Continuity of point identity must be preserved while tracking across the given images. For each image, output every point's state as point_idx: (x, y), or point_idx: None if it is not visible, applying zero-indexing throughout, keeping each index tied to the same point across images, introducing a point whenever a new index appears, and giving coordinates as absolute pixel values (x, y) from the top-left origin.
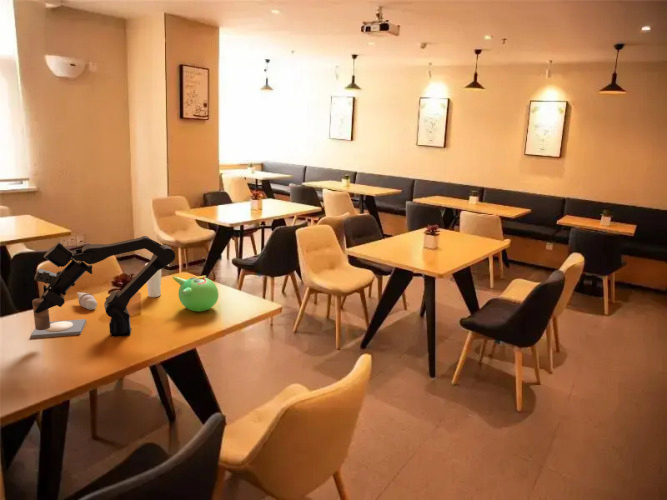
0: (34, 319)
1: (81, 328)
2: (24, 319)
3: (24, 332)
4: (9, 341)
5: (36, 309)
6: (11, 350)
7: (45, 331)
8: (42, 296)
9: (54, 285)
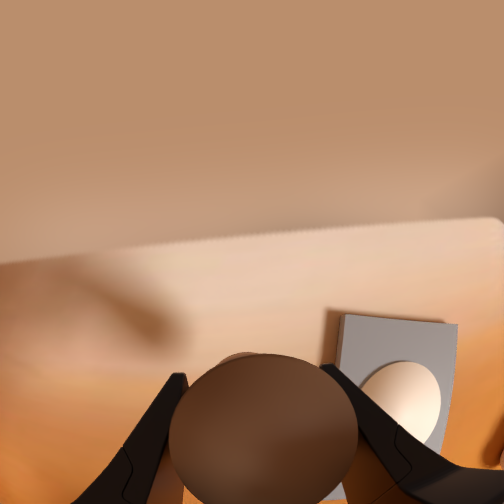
0: (238, 354)
1: (344, 498)
2: (492, 267)
3: (404, 283)
4: (333, 241)
5: (161, 391)
6: (237, 256)
7: (368, 368)
8: (376, 461)
9: None
